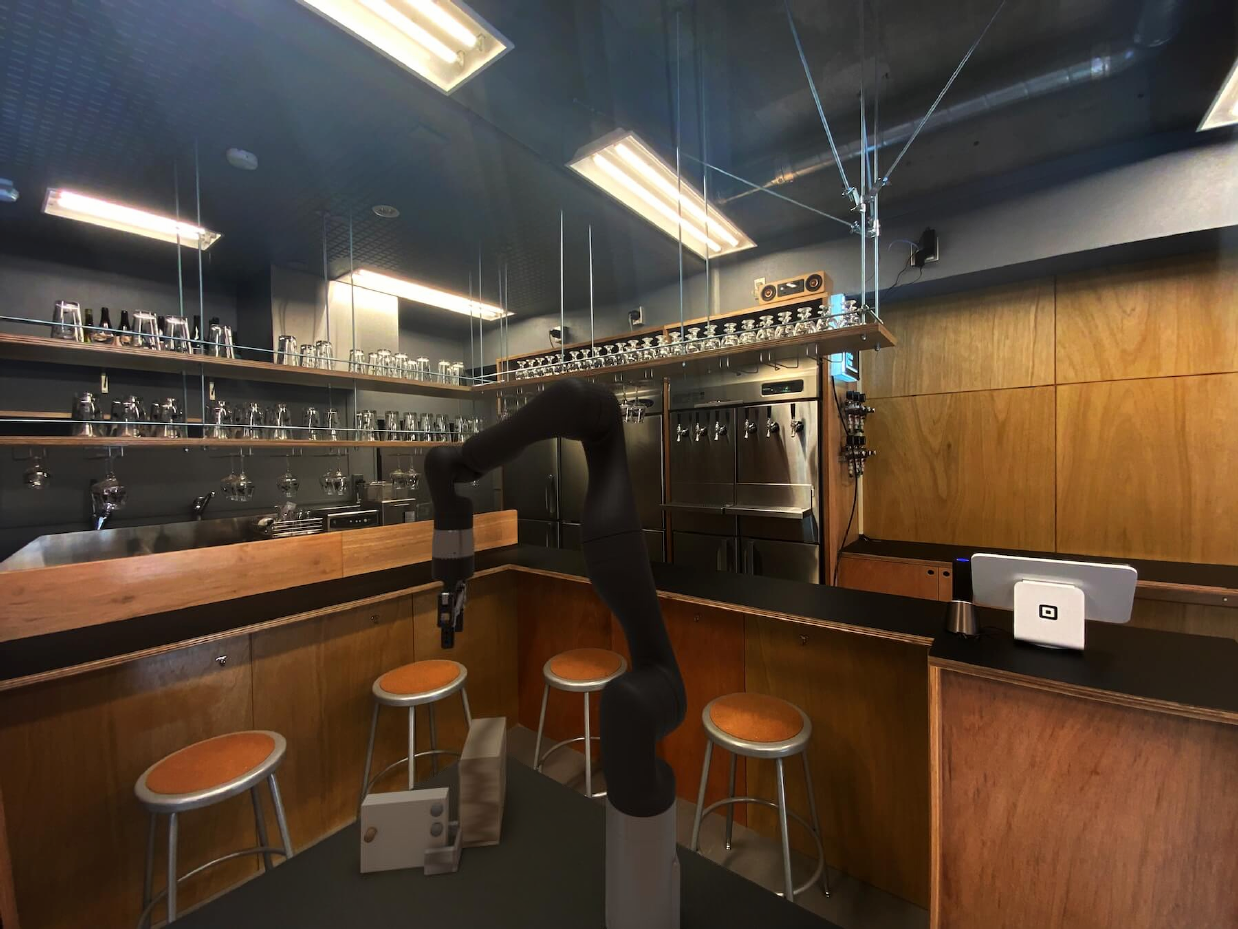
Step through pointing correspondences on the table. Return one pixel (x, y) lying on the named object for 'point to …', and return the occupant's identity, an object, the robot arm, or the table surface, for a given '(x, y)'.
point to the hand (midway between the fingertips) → (452, 639)
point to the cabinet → (475, 795)
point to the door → (402, 828)
